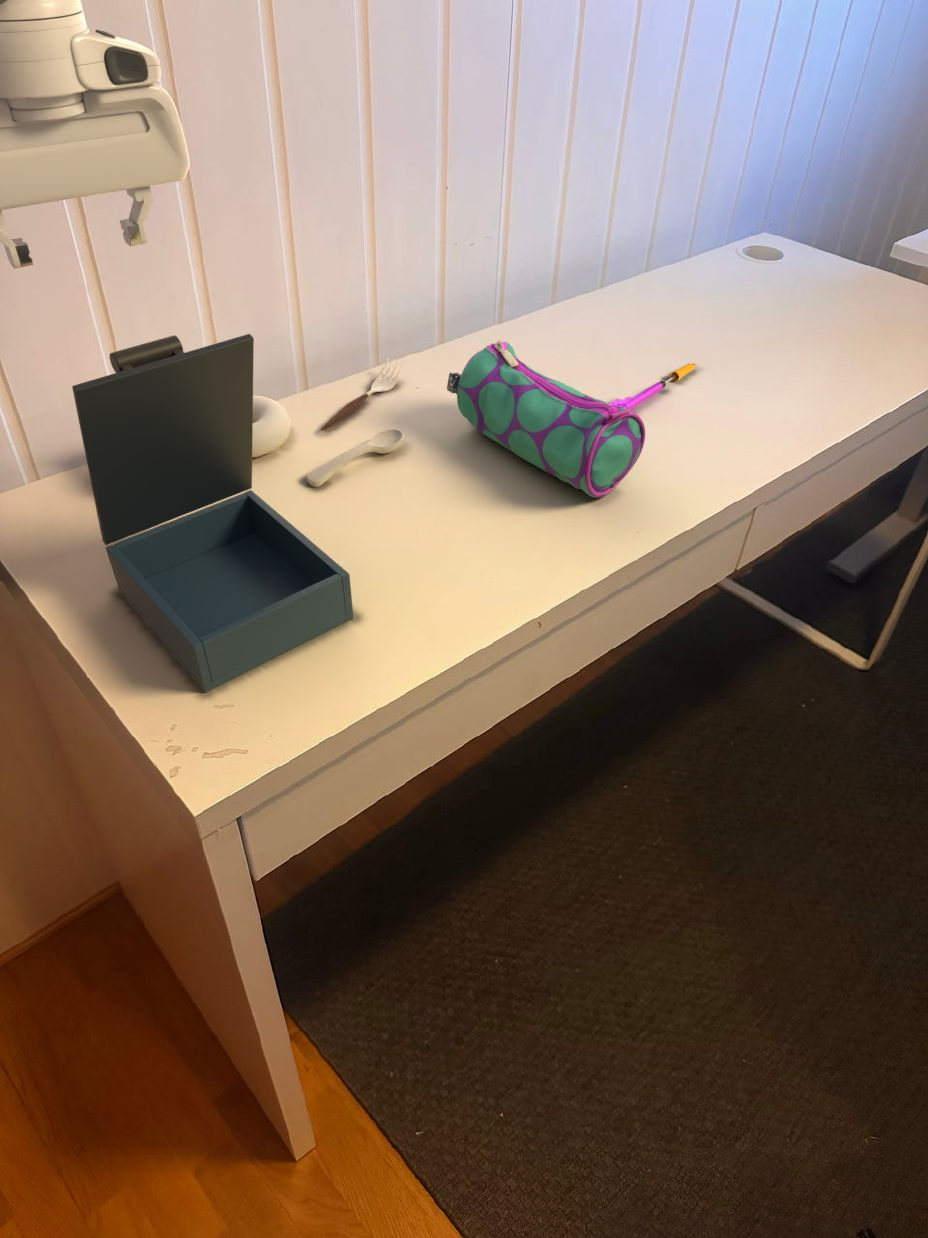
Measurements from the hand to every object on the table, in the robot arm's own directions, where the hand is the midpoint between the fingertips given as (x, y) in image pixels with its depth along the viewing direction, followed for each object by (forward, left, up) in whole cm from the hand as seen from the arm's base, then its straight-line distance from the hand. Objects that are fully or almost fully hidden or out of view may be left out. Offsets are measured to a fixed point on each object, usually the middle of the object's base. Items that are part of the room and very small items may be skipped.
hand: (80, 253), depth 74 cm
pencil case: (+40, -4, -22) cm, 46 cm away
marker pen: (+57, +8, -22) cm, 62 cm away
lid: (+6, -17, -9) cm, 20 cm away
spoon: (+21, -1, -22) cm, 31 cm away
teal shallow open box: (+8, -21, -22) cm, 32 cm away
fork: (+24, +11, -22) cm, 34 cm away
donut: (+10, +6, -22) cm, 25 cm away
